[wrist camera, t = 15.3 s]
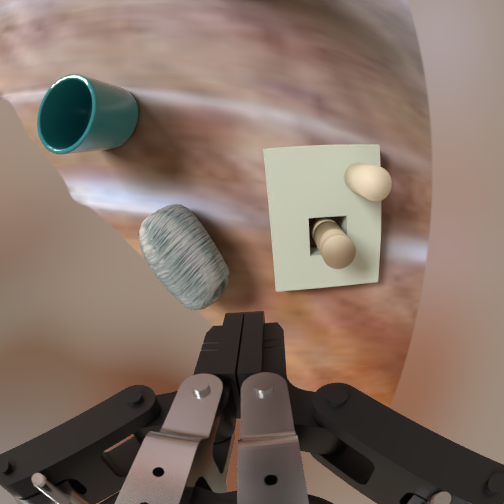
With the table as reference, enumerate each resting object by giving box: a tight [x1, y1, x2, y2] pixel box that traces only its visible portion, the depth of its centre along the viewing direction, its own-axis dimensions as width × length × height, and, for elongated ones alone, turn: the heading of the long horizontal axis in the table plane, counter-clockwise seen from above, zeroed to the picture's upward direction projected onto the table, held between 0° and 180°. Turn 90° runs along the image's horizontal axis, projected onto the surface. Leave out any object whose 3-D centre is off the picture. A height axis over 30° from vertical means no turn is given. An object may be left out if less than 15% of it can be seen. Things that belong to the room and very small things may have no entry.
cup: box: [37, 74, 138, 154], centre depth 28 cm, size 9×12×11 cm
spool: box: [139, 205, 230, 310], centre depth 36 cm, size 14×10×10 cm
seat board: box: [263, 144, 392, 292], centre depth 33 cm, size 18×14×9 cm
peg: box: [310, 217, 356, 269], centre depth 33 cm, size 4×4×9 cm
